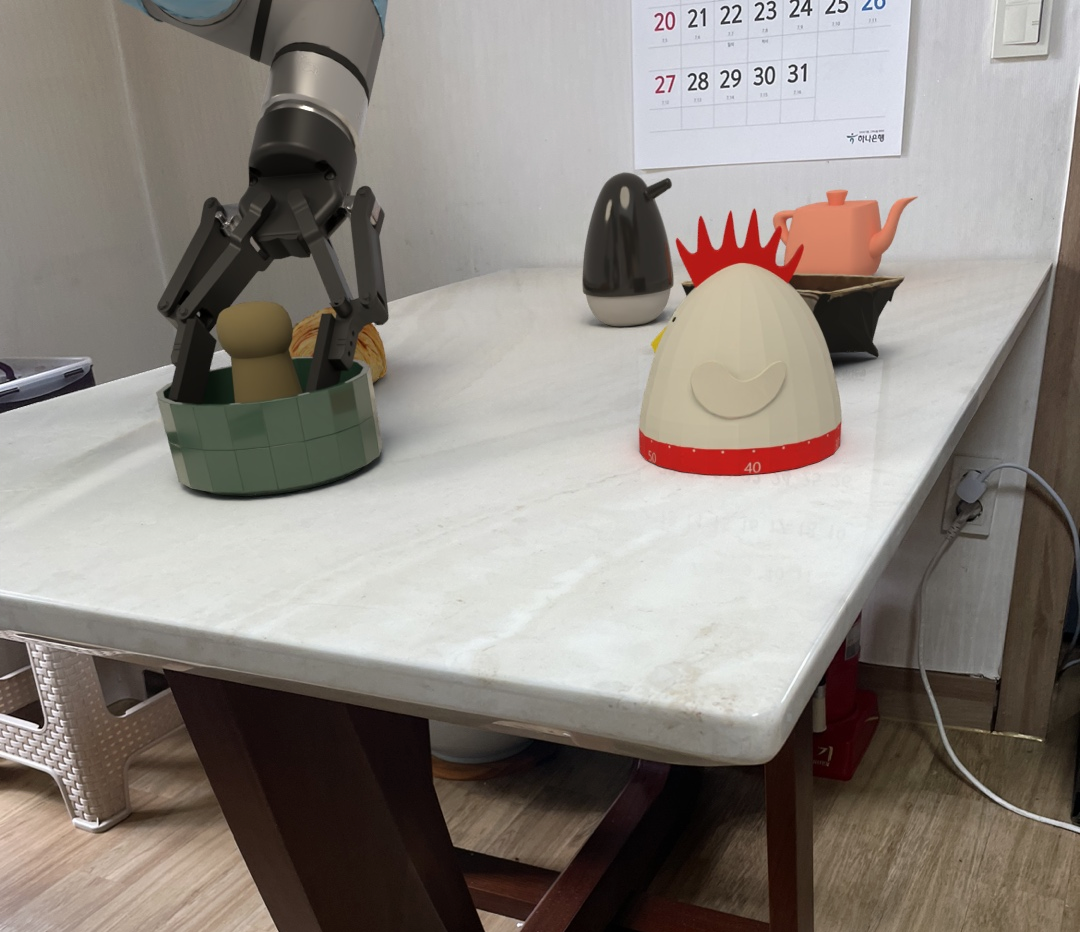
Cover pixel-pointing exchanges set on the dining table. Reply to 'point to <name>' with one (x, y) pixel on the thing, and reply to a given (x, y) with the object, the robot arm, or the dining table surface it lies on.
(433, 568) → the dining table surface
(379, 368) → the croissant
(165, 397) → the green tiled bowl
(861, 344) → the baking dish
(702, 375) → the kitchen timer
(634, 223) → the pump dispenser
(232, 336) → the cork
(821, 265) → the teapot
